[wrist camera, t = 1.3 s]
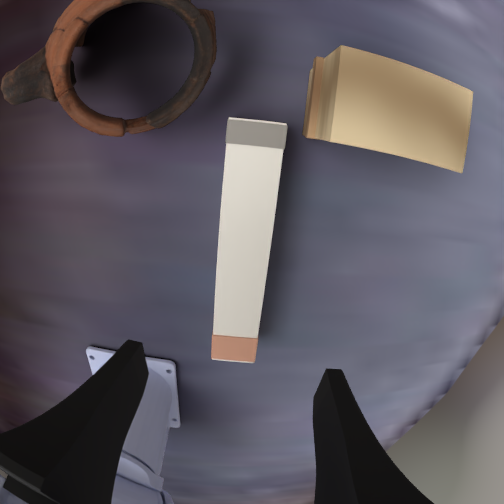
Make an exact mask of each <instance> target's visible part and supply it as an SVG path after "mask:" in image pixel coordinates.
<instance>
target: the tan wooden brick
mask: <svg viewBox="0 0 504 504" xmlns="http://www.w3.org/2000/svg"><path fill="white" fill-rule="evenodd" d="M472 99H473V91H471V90H469V89H467V88H464V87H462V86H460V85H458V84H456V83H453V82H451V81H449V80H447V79H444V78H442V77H439V76H437V75H434V74H432V73H429V72H427V71H424V70H422V69H419V68H416V67H413V66H411V65H408V64H405V63H402V62H399V61H396V60H393V59H390V58H387V57H383V56H380V55H377V54H373V53H370V52H366V51H362V50H359V49H355V48H351V47H347V46H342V45H341V46H339V47H338V48H337V49H336V50H334V51H333V52H332V53H331V54H329V55H328V56H327V57H326V58H322V57H316V58H315V59H314V63H313V68H312V69H311V70H310V75H309V84H308V93H307V101H306V109H305V118H304V126H303V134H302V135H305V137H306V138H312V139H318V140H320V139H321V140H325V141H329V142H334V143H340V144H345V145H351V146H356V147H361V148H366V149H370V150H375V151H380V152H384V153H388V154H393V155H397V156H401V157H405V158H409V159H413V160H417V161H421V162H425V163H428V164H432V165H435V166H439V167H442V168H446V169H449V170H453V171H456V172H459V173H462V172H463V167H464V161H465V155H466V149H467V143H468V136H469V128H470V120H471V110H472Z"/></svg>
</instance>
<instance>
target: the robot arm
mask: <svg viewBox="0 0 504 504" xmlns="http://www.w3.org/2000/svg"><path fill="white" fill-rule="evenodd" d="M86 353H87V357H88V360H89V364H90V367H91V370H92V374H93V375H92V376H91V377H90V378H89V379H88V380H87V381H86V382H85V383H84V384H82V385H81V386H80V387H79V388H78V389H77V390H76V391H74V392H73V393H72V394H71V395H69V396H68V397H67V398H66V399H64V400H63V401H61V402H60V403H59V404H57V405H56V406H54V407H53V408H51V409H50V410H48V411H47V412H45V413H43V414H42V415H40V416H38V417H36V418H35V419H33V420H31V421H29V422H27V423H25V424H23V425H21V426H19V427H17V428H14V429H12V430H9V431H7V432H4V433H1V434H0V469H1V470H2V471H4V472H5V473H6V474H8V476H7V479H6V478H4V477H2V476H1V475H0V504H173V501H172V498H171V496H170V494H169V493H168V492H167V491H165V490H162V486H163V480H164V479H163V478H162V477H160V476H159V474H160V472H161V468H162V463H163V458H164V453H165V448H166V443H167V438H168V433H169V429H170V427H174V428H179V427H180V424H181V423H180V413H179V402H178V391H177V378H176V365H175V363H174V362H173V361H170V360H164V359H157V358H151V357H145V354H144V349H143V344H142V343H141V342H137V341H132V340H127V341H126V342H125V343H124V344H123V345H122V346H121V347H120V348H119V349H118V350H117V351H111V350H106V349H101V348H96V347H91V346H89V347H88V348H87V350H86ZM170 370H171V371H170ZM313 429H314V443H315V456H316V489H315V501H314V504H434V503H433V502H432V501H430V500H429V499H428V498H427V497H425V496H424V495H423V494H422V493H421V492H420V491H419V490H418V489H417V488H416V487H415V486H414V485H413V484H412V483H411V482H410V481H409V480H408V479H407V478H406V477H405V475H404V474H403V473H402V472H401V471H400V470H399V469H398V467H397V466H396V465H395V464H394V463H393V461H392V460H391V459H390V457H389V456H388V455H387V453H386V452H385V450H384V449H383V448H382V446H381V445H380V443H379V442H378V440H377V438H376V437H375V435H374V433H373V432H372V430H371V428H370V427H369V425H368V423H367V421H366V420H365V418H364V416H363V414H362V412H361V410H360V408H359V406H358V404H357V402H356V400H355V398H354V396H353V394H352V391H351V389H350V387H349V385H348V382H347V380H346V378H345V375H344V373H343V371H342V370H341V369H326V370H325V373H324V375H323V377H322V379H321V382H320V384H319V386H318V389H317V391H316V393H315V395H314V401H313Z"/></svg>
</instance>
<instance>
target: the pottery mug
mask: <svg viewBox="0 0 504 504" xmlns="http://www.w3.org/2000/svg"><path fill="white" fill-rule="evenodd" d="M139 2H145V3H153V4H157V5H161V6H163V7H166V8H168V9H170V10H172V11H173V12H175V13H176V14H178V15H179V16H180V17H181V18H182V19H183V20H184V21H185V22H186V24H187V25H188V27H189V29H190V31H191V34H192V36H193V40H194V46H195V53H194V62H193V67H192V70H191V72H190V74H189V76H188V78H187V80H186V81H185V83H184V85H183V86H182V88H181V89H180V90H179V92H178V93H177V94H176V95H175V96H174V97H173V98H172V99H171V100H169V101H168V102H167V103H165V104H164V105H163V106H161V107H160V108H158V109H157V110H155V111H153V112H151V113H149V114H148V116H145V117H140V118H136V119H128V120H124V119H122V118H114V117H109V116H105V115H102V114H99V113H97V112H95V111H94V110H92V109H90V108H89V107H88V106H87V105H85V104H84V103H83V102H82V101H81V99H80V98H79V97H78V95H77V93H76V91H75V89H74V87H73V86H74V85H75V83H76V78H75V74H74V64H73V62H72V61H71V56H72V53H73V50H74V47H81V46H83V43H84V38H85V34H86V31H87V28H88V26H89V25H90V24H91V23H92V22H94V21H95V20H96V19H97V18H98V17H100V16H101V15H103V14H105V13H106V12H108V11H110V10H112V9H115V8H117V7H120V6H123V5H125V4H130V3H139ZM216 50H217V47H216V29H215V18H214V14H213V11H209V10H206V9H197V8H196V7H195V6H194V5H193V4H192V3H191V0H74V1H73V2H72V3H71V4H70V5H69V6H68V7H67V9H66V10H65V11H64V12H63V14H62V15H61V16H60V17H59V19H58V20H57V22H56V24H55V26H54V28H53V33H52V34H51V35H50V37H49V39H48V41H47V43H46V46H45V47H43V48H42V49H41V50H40V51H39V52H37V53H36V54H35V55H33V56H32V57H30V58H29V59H27V60H26V61H25V62H23V63H21V64H20V65H19V66H17V68H15V69H14V70H12V71H9V72H7V73H6V74H5V76H4V77H3V79H2V84H1V90H2V92H3V94H4V98H5V100H7V101H8V102H9V103H10V104H12V105H17V104H20V103H24V102H28V101H31V100H34V99H37V98H47V99H49V100H51V101H54V102H56V101H58V100H59V103H60V104H61V105H62V107H63V109H64V110H65V111H66V112H67V113H68V115H69V116H70V117H71V118H72V119H73V120H74V121H75V122H77V123H78V124H79V125H80V126H82V127H84V128H86V129H88V130H90V131H92V132H95V133H97V134H100V135H107V136H116V137H122V136H124V134H125V133H126V132H129V133H131V134H136V133H141V132H145V131H149V130H152V129H155V128H162V127H164V126H166V125H168V124H169V123H170V122H172V121H173V120H175V119H176V118H178V117H179V116H180V115H181V114H182V113H183V112H184V111H185V110H187V109H188V108H189V107H190V106H191V105H192V104H193V102H194V101H195V100H196V99H197V98H198V96H199V94H200V93H201V91H202V90H203V88H204V86H205V85H206V83H207V81H208V79H209V77H210V75H211V72H210V70H211V68H212V66H213V64H214V62H215V59H216Z"/></svg>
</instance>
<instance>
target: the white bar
mask: <svg viewBox="0 0 504 504" xmlns="http://www.w3.org/2000/svg"><path fill="white" fill-rule="evenodd" d="M286 135H287V126H286V123H278V122H270V121H261V120H252V119H241V118H230V117H229V119H228V122H227V132H226V142H225V143H227V144H226V155H225V166H224V177H223V189H222V201H221V213H220V227H219V241H218V255H217V271H216V287H215V305H214V325H213V333H212V350H211V358H212V360H222V361H233V362H245V363H254V362H255V357H256V350H257V344H258V331H259V324H260V317H261V311H262V304H263V297H264V290H265V283H266V276H267V269H268V262H269V255H270V248H271V240H272V233H273V226H274V218H275V211H276V203H277V196H278V188H279V180H280V172H281V165H282V157H283V149H285V143H286Z"/></svg>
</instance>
